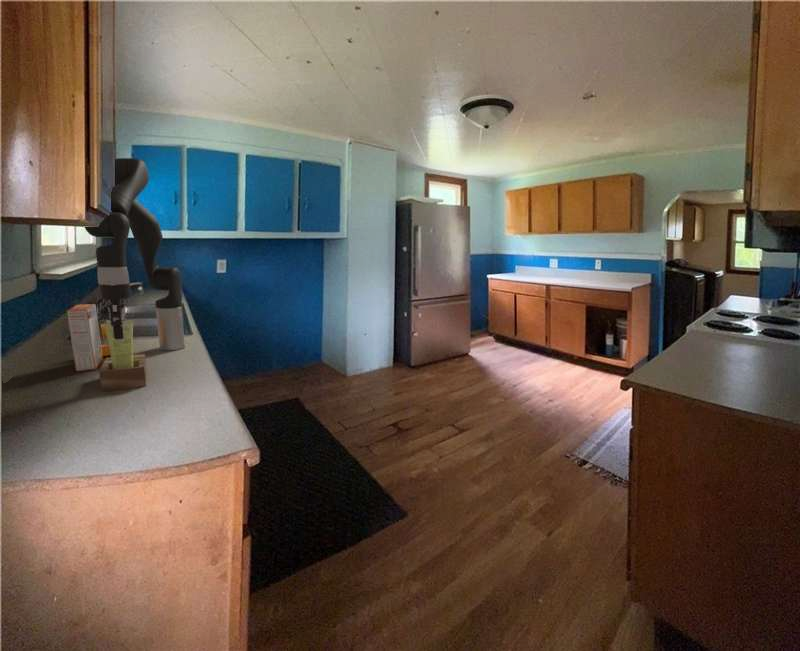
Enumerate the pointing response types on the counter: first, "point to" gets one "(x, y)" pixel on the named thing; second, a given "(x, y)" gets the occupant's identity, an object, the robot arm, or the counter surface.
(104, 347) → the bracket
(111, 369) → the wooden box
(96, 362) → the cracker box
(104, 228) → the robot arm
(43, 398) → the counter surface
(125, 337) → the tube
